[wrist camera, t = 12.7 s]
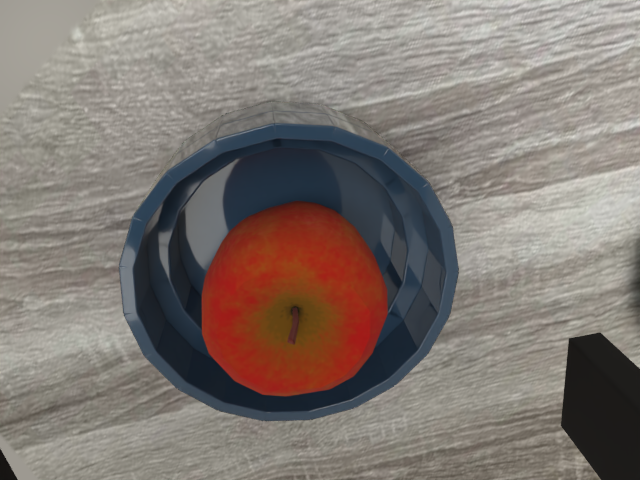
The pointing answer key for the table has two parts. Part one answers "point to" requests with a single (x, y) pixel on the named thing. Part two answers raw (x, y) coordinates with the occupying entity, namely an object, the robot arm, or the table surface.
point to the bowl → (268, 191)
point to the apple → (293, 300)
